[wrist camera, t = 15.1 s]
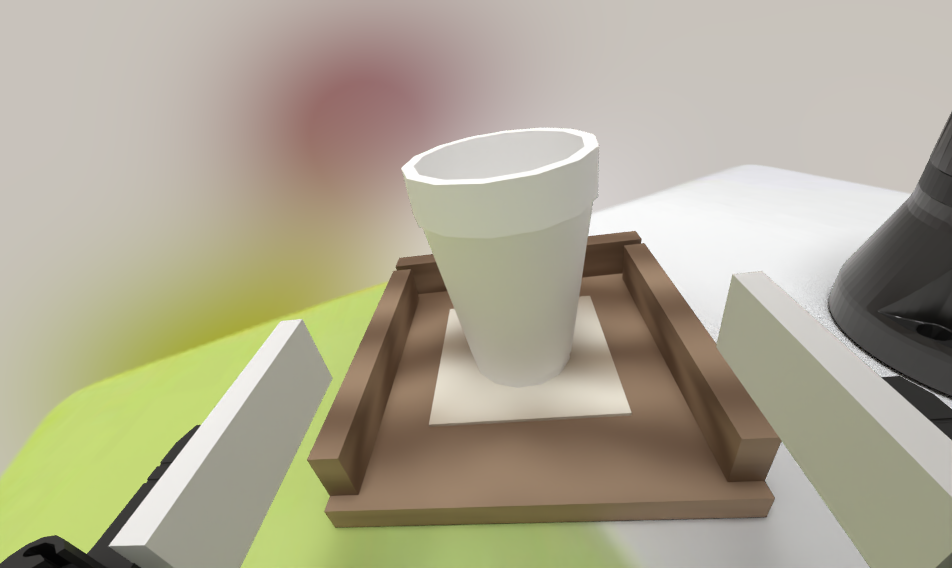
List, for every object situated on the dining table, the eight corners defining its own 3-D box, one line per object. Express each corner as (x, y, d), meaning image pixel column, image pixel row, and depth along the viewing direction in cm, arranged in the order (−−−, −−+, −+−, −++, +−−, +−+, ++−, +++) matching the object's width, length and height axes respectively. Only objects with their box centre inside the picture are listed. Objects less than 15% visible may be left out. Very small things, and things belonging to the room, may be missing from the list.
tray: (766, 516, 17) (795, 454, 14) (335, 527, 19) (299, 475, 17) (632, 277, 34) (635, 230, 31) (411, 299, 36) (399, 257, 34)
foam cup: (625, 343, 25) (639, 131, 18) (529, 438, 20) (498, 198, 13) (516, 295, 31) (496, 126, 24) (424, 358, 26) (367, 170, 20)
